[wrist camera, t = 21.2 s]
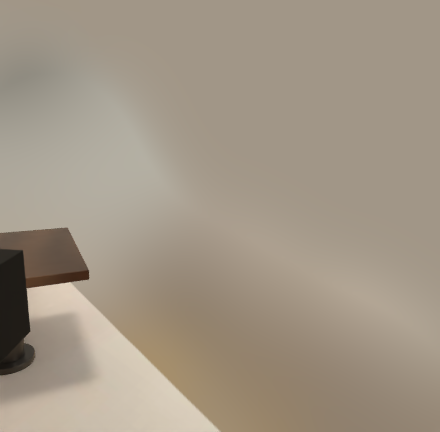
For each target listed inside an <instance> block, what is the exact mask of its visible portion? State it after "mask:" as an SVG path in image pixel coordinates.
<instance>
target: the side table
mask: <svg viewBox="0 0 440 432" xmlns="http://www.w3.org/2000/svg"><path fill="white" fill-rule="evenodd" d="M0 249H11V250H23V255H24V266H25V277H26V288H32V287H39V286H46V285H53V284H60V283H67V282H74V281H81V280H88V279H89V270H88V268H87V266H86V264H85V262H84V260H83V258H82V256H81V254H80V252H79V250H78V248H77V246H76V244H75V242H74V240H73V238H72V236H71V234H70V232H69V230H68V228H57V229H45V230H33V231H21V232H8V233H0ZM34 358H35V350H34V348H33V347H32V346H31V345H29V344H25V343H24V338H23V340H22V341H21V342H20V343H19V344H18V345H17V346H16V347H15V348H14V349H13V350H12V351H11V352H10V353H9V354H8V355H7V356H6V357H5V358H4V360H3V361H2V362H1V363H0V375H5V374H11V373H15V372H18V371H20V370H22V369H24V368H26V367H27V366H29V365H30V364H31V363H32V362H33V360H34Z"/></svg>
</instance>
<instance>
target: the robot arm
mask: <svg viewBox="0 0 440 432" xmlns="http://www.w3.org/2000/svg"><path fill="white" fill-rule="evenodd" d="M29 332H30V323H29V312H28V300H27V289H26V277H25V266H24V255H23V250H11V249H0V363H1V362H2V361H3V360H4V358H5V357H6V356H7V355H8V354H9V353H10V352H11V351H12V350H13V349H14V348H15V347H16V346H17V345H18V344H19V343H20V342H21V341H22V340H23V338H24V337H25V336H26V335H27V334H28V333H29Z"/></svg>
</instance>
